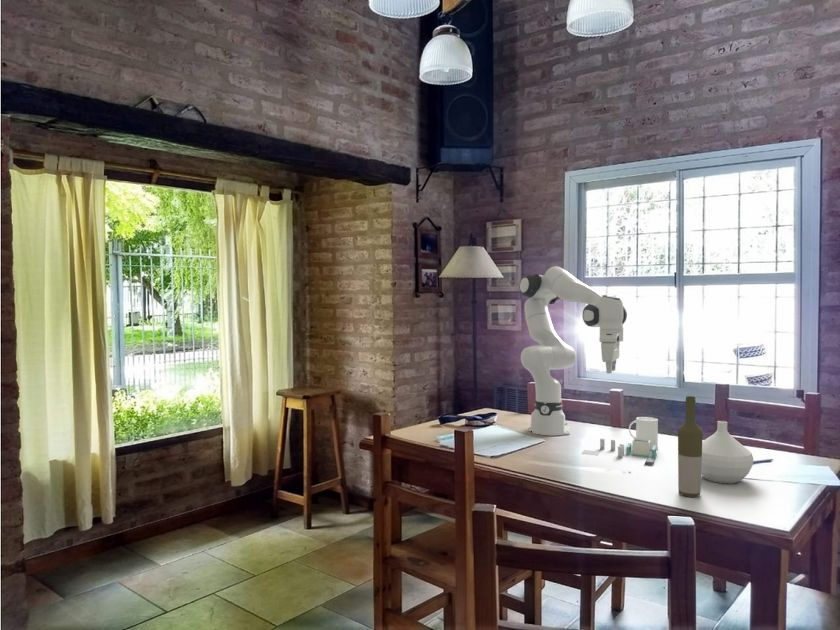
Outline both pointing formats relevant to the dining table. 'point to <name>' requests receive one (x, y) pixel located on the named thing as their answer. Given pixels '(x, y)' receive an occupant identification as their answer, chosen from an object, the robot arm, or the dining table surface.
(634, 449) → the box
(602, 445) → the board
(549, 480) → the dining table surface
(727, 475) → the vase
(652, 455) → the end holder
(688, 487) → the bottle
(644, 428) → the mug
